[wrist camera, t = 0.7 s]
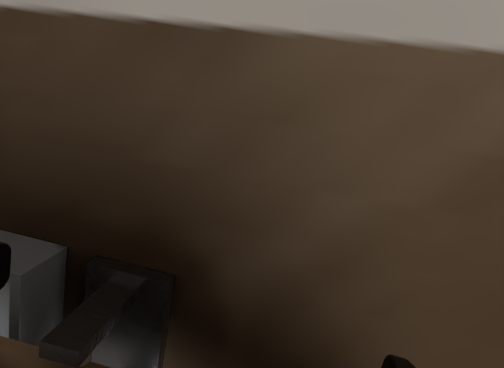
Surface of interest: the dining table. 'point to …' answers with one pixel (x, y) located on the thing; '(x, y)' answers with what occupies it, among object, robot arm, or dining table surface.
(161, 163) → the dining table surface
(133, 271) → the stand
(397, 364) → the robot arm
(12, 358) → the chute
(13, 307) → the bin
